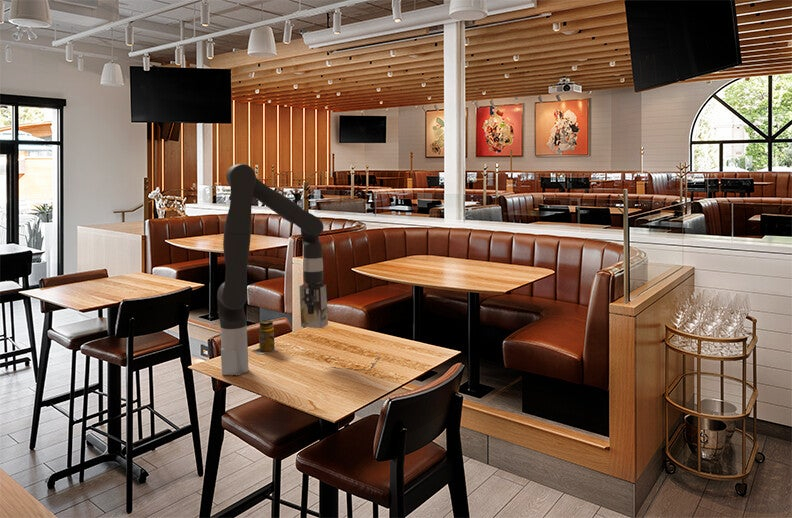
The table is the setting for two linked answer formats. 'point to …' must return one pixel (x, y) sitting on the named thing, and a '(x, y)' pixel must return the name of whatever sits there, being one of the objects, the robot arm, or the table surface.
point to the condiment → (266, 338)
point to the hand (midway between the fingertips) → (314, 311)
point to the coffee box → (320, 307)
